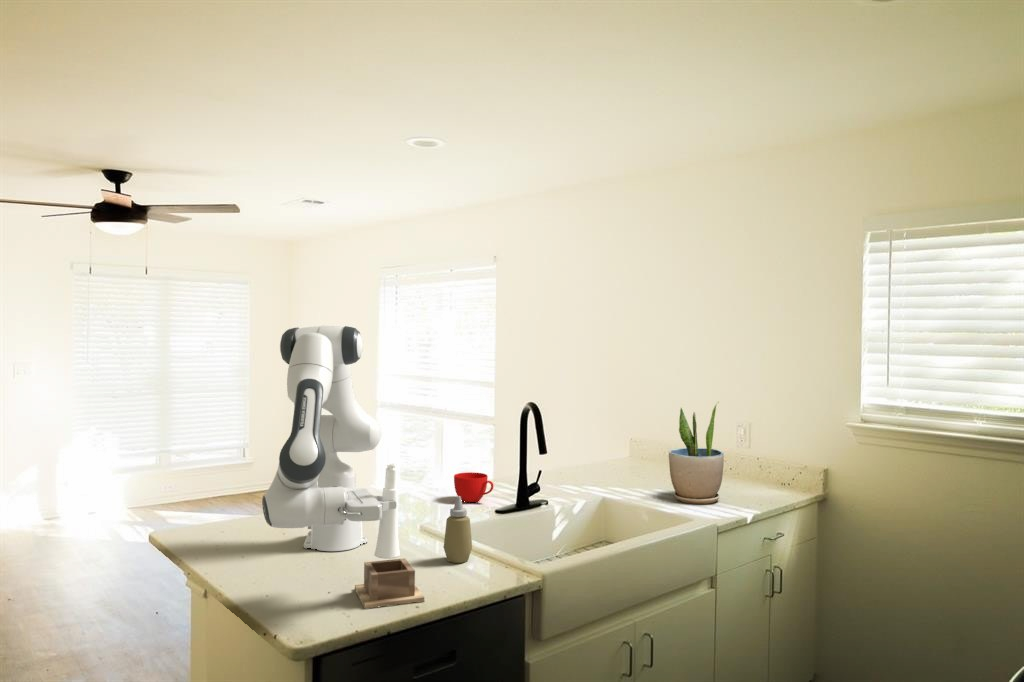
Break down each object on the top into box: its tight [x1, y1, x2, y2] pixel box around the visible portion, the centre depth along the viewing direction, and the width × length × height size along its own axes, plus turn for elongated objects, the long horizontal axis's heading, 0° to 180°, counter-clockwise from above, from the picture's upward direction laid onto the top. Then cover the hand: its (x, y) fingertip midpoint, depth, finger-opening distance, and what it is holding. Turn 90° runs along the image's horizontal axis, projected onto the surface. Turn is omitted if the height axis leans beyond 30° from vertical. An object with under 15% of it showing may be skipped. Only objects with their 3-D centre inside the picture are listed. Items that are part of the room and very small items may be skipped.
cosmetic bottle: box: [374, 463, 401, 560], centre depth 174 cm, size 6×6×22 cm
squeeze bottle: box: [443, 495, 473, 564], centre depth 203 cm, size 8×8×18 cm
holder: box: [354, 558, 425, 609], centre depth 174 cm, size 14×14×7 cm
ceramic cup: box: [453, 471, 494, 503], centre depth 276 cm, size 13×17×10 cm
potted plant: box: [668, 401, 725, 505], centre depth 285 cm, size 21×22×40 cm
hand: (393, 502), depth 175 cm, fingers closed on cosmetic bottle, 4 cm apart
